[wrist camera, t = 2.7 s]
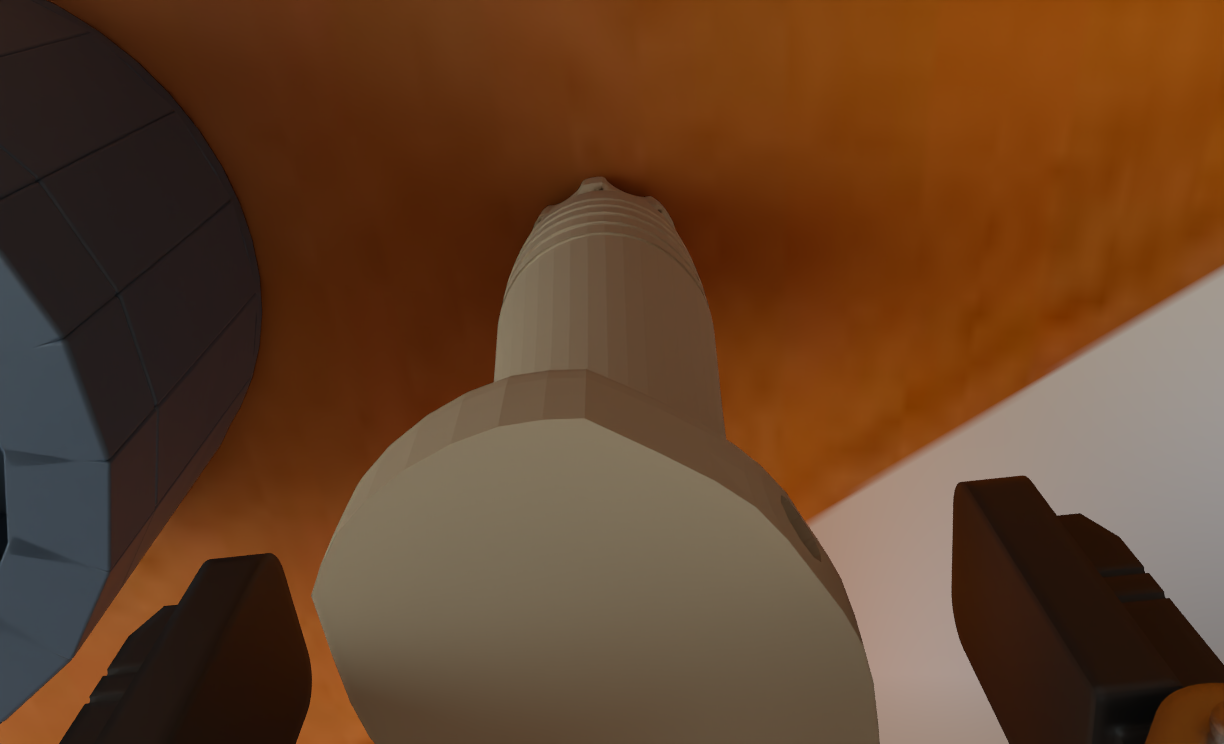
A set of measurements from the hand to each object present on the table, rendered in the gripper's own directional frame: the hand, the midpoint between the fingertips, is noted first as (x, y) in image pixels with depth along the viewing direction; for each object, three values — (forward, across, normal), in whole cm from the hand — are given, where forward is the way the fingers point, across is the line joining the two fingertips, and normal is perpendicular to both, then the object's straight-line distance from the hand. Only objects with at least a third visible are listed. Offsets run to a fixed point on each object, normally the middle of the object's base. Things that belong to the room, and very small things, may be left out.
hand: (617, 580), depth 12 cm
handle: (+13, 0, 0) cm, 13 cm away
